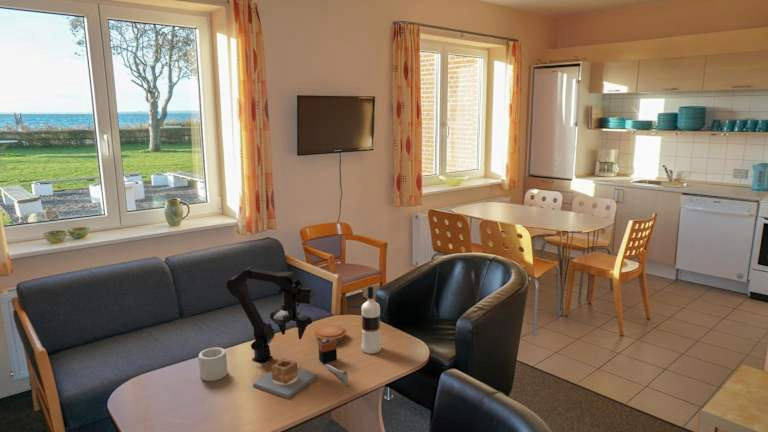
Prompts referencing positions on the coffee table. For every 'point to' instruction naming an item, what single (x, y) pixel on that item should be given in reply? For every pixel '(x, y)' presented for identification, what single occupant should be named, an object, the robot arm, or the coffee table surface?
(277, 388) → the post board
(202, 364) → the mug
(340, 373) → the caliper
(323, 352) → the battery
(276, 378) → the collar
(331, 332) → the pie
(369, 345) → the vodka
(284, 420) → the coffee table surface
